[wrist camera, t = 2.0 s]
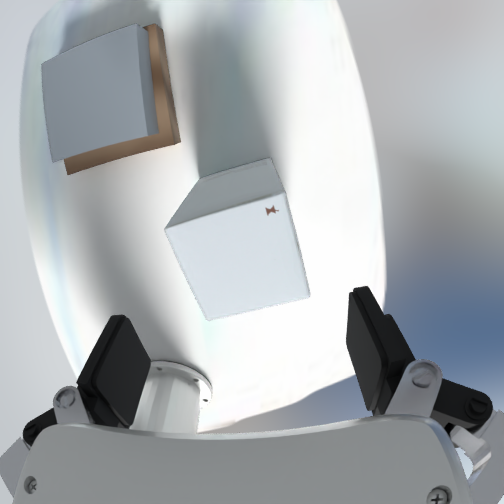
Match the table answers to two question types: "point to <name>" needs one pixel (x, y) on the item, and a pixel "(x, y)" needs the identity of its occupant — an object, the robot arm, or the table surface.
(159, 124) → the walnut base slab
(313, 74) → the table surface
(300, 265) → the supplement box
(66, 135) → the slate grey slab
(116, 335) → the robot arm
